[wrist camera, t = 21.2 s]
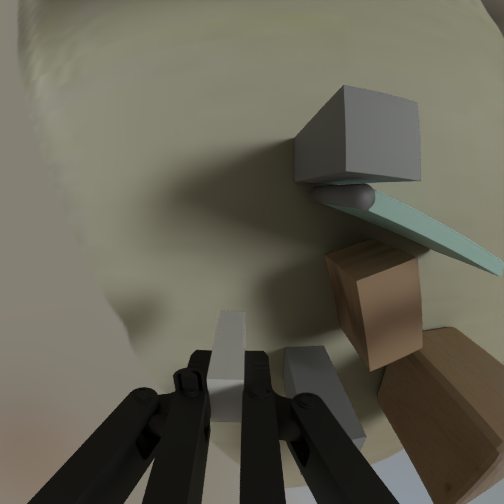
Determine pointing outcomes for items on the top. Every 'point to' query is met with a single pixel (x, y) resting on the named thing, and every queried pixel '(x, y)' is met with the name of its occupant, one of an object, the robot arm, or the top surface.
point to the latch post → (321, 386)
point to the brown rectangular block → (377, 300)
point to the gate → (405, 223)
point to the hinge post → (360, 140)
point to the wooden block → (448, 414)
